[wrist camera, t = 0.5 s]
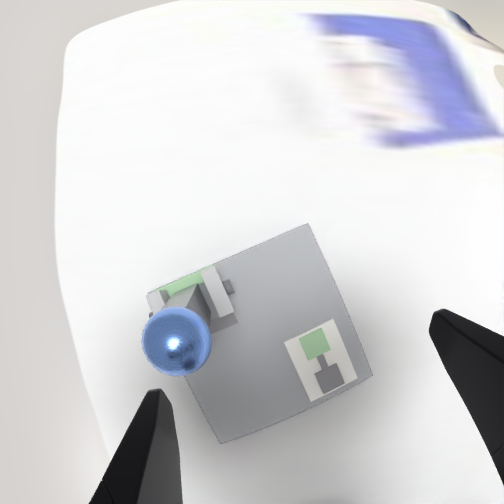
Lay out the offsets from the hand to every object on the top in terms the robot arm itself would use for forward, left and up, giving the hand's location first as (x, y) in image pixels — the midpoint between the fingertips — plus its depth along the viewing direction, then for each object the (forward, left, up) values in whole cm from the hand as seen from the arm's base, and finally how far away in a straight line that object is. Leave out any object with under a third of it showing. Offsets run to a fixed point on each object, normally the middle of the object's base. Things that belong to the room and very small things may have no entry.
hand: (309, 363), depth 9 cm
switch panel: (-1, +1, -15) cm, 15 cm away
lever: (+4, +4, -12) cm, 13 cm away
